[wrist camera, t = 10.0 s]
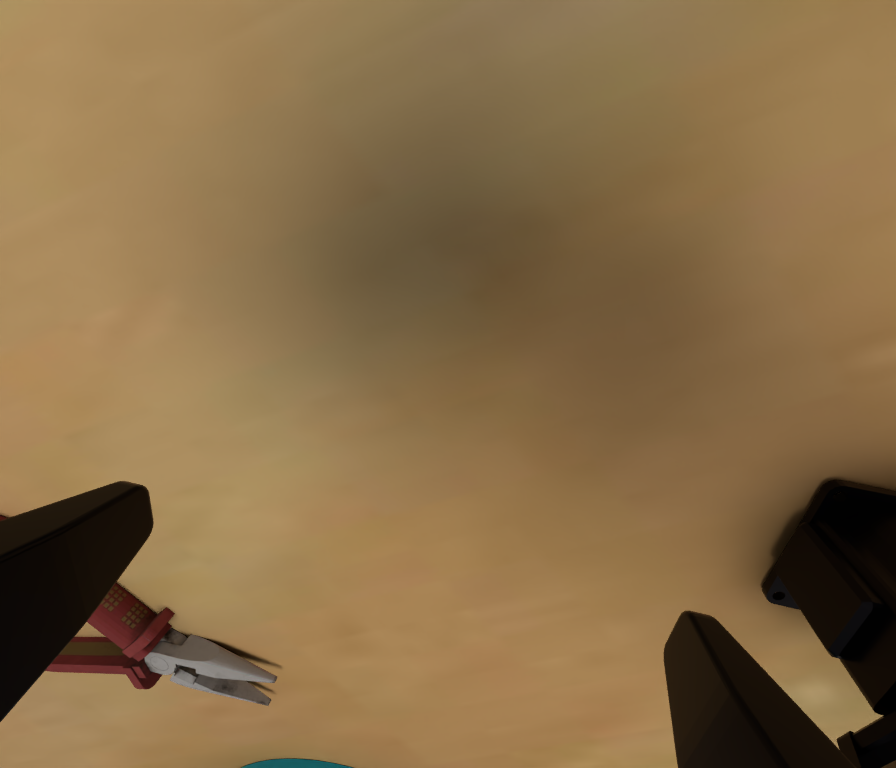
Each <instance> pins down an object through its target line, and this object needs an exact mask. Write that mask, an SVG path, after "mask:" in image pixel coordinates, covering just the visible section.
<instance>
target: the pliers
mask: <svg viewBox="0 0 896 768" xmlns="http://www.w3.org/2000/svg"><path fill="white" fill-rule="evenodd" d="M4 519H7V518H6V517H3V516H0V521H1V520H4ZM174 614H175V613H173V612H172V611H171V610H170V609H168V608H165V609H164V610H163V611H161V612H160V613H159V614H158V615H156V614H155V613H154V612H152V611H151V610H150V609H149V608H147V607H146V606H145V605H144V604H142V603H141V602H140V601H138V600H137V599H136V598H135V597H133V596H132V595H131V594H130V593H128V592H127V591H126V590H125V589H123V588H122V587H121V586H120V585H118V584H117V583H115V584H114V586H113V587H112V589H111V590H110V591H109V593H108V594H107V595H106V597H105V598H104V600H103V601H102V602H101V604H100V605H99V606H98V608H97V609H96V610H95V612H94V613H93V614H92V615H91V617H90V618H89V619H88V621H87V622H88V623H89V624H90V625H92V626H93V627H94V628H96V629H97V630H98V631H99V632H101V633H102V634H103V635H105V636H106V637H73V639H72V640H71V641H70V642H69V643H68V644H67V646H66V647H65V648H64V649H63V650H62V651H61V653H60V654H59V655H58V656H57V657H56V658H55V659H54V661H53V662H52V663H51V664H50V665H49V666H48V668H47V669H46V670H45V671H52V672H74V673H105V674H126V675H127V676H128V678H129V679H130V681H131V682H132V684H133V685H134V687H135V688H137V689H150V688H151V687H153V686H154V685H155V684H156V682H157V681H158V680H159V679H160V677H161V676H162V675H170V674H172V673H173V675H172V677H171V679H170V681H172V682H175V683H177V684H180V685H183V686H186V687H189V688H193V689H196V690H201V691H205V692H210V693H214V694H218V695H223V696H227V697H232V698H236V699H240V700H245V701H249V702H254V703H258V704H263V705H267V706H268V705H269V703H270V701H271V699H270V698H269V697H267V696H266V695H265V694H263V693H262V692H261V691H259V690H258V689H256V688H255V687H254V686H252V685H251V684H250V683H248V682H247V681H255V682H267V683H275V681H276V679H277V676H275V675H273V674H271V673H269V672H268V671H266V670H264V669H262V668H260V667H258V666H256V665H254V664H252V663H251V662H249V661H247V660H245V659H243V658H241V657H239V656H237V655H236V654H234V653H232V652H230V651H228V650H226V649H224V648H222V647H221V646H219V645H217V644H215V643H213V642H211V641H209V640H206V639H204V638H201V637H199V636H196V635H192V634H191V635H190V636H189V637H188V638H187V637H186V636H184V635H183V634H181V633H179V632H177V631H175V630H174V629H172V628H171V625H170V624H169V623H167V622H168V621H169V620H170V619H171V618H172V616H173V615H174Z"/></svg>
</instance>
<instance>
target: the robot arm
mask: <svg viewBox="0 0 896 768" xmlns="http://www.w3.org/2000/svg"><path fill="white" fill-rule="evenodd" d="M839 491H841V492H840V493H839V494H838V495H835V496H833V495H834V494H835V493H837V492H839ZM152 528H153V515H152V509H151V503H150V496H149V492H148V490H147V488H146V487H145V486H143V485H140V484H135V483H131V482H126V481H119V482H115V483H112V484H109V485H106V486H103V487H100V488H97V489H94V490H91V491H88V492H85V493H82V494H79V495H76V496H73V497H70V498H67V499H64V500H61V501H58V502H55V503H52V504H49V505H46V506H43V507H40V508H37V509H34V510H31V511H28V512H25V513H22V514H19V515H16V516H13V517H10V518H7V519H4V520H1V521H0V722H1V721H2V720H3V719H4V717H5V716H6V715H7V714H8V713H9V712H10V710H11V709H12V708H13V707H14V706H15V705H16V703H17V702H18V701H19V700H20V699H21V698H22V697H23V695H24V694H25V693H26V692H27V691H28V690H29V688H30V687H31V686H32V685H33V684H34V683H35V681H36V680H37V679H38V678H39V677H40V676H41V675H42V673H43V672H44V671H45V670H46V669H47V668H48V666H49V665H50V664H51V663H52V662H53V661H54V659H55V658H56V657H57V656H58V655H59V654H60V653H61V651H62V650H63V649H64V648H65V647H66V646H67V644H68V643H69V642H70V641H71V640H72V639H73V637H74V636H75V635H76V634H77V633H78V632H79V630H80V629H81V628H82V627H83V626H84V624H85V623H86V622H87V621H88V619H89V618H90V617H91V615H92V614H93V613H94V612H95V610H96V609H97V608H98V606H99V605H100V604H101V602H102V601H103V600H104V598H105V597H106V595H107V594H108V593H109V591H110V590H111V589H112V587H113V586H114V584H115V583H116V582H117V580H118V579H119V577H120V576H121V575H122V573H123V572H124V571H125V569H126V568H127V566H128V565H129V564H130V562H131V561H132V560H133V558H134V557H135V555H136V554H137V553H138V551H139V550H140V549H141V547H142V546H143V544H144V543H145V542H146V540H147V539H148V537H149V536H150V534H151V532H152ZM762 591H763V593H764V595H765V597H766V599H767V600H768V601H769V602H771V603H773V604H777V605H782V606H786V607H790V608H795V609H799V610H801V612H802V613H803V615H804V616H805V618H806V619H807V621H808V622H809V624H810V625H811V627H812V629H813V630H814V632H815V633H816V635H817V636H818V638H819V639H820V641H821V642H822V644H823V645H824V647H825V648H826V650H827V652H828V653H829V654H830V655H831V656H832V657H835V658H839V659H840V661H841V662H842V664H843V665H844V667H845V668H846V670H847V671H848V673H849V674H850V676H851V677H852V679H853V680H854V682H855V683H856V685H857V686H858V688H859V689H860V691H861V692H862V694H863V695H864V697H865V698H866V700H867V701H868V703H869V704H870V706H871V707H872V709H873V710H874V712H875V713H878V714H880V715H884V716H882V717H881V718H879V719H877V720H876V721H874V722H872V723H870V724H869V725H867V726H865V727H864V728H862V729H860V730H858V731H857V732H855V733H854V732H852V731H849V732H847V733H846V734H844V735H842V736H841V737H839V738H837V743H838V746H839V749H840V750H839V749H838V748H837V747H836V746H835V745H834V743H833V742H832V741H831V740H830V739H829V738H828V737H827V736H826V735H825V734H824V733H823V732H822V731H821V730H820V729H819V728H818V727H817V725H816V724H815V723H814V722H813V721H812V720H811V719H810V718H809V717H808V716H807V715H806V714H805V713H804V712H803V711H802V710H801V708H800V707H799V706H798V705H797V704H796V703H795V702H794V701H793V700H792V699H791V698H790V697H789V696H788V695H787V694H786V693H785V692H784V690H783V689H782V688H781V687H780V686H779V685H778V684H777V683H776V682H775V681H774V680H773V679H772V678H771V677H770V676H769V675H768V674H767V672H766V671H765V670H764V669H763V668H762V667H761V666H760V665H759V664H758V663H757V662H756V661H755V660H754V659H753V658H752V657H751V655H750V654H749V653H748V652H747V651H746V650H745V649H744V648H743V647H742V646H741V645H740V644H739V643H738V642H737V641H736V640H735V639H734V637H733V636H732V635H731V634H730V633H729V632H728V631H727V630H726V629H725V628H724V627H723V626H722V625H721V624H720V623H719V622H718V621H717V620H716V619H715V618H714V617H712V616H710V615H706V614H702V613H697V612H693V611H684V612H683V613H681V615H680V616H679V618H678V620H677V622H676V624H675V626H674V628H673V630H672V632H671V634H670V636H669V638H668V640H667V642H666V645H665V648H664V666H665V673H666V681H667V689H668V696H669V704H670V712H671V719H672V727H673V735H674V743H675V750H676V757H677V764H678V768H896V491H891V490H886V489H881V488H876V487H871V486H866V485H861V484H857V483H852V482H847V481H842V480H833V481H829V482H827V483H826V484H824V485H823V486H822V487H821V489H820V491H819V492H818V494H817V496H816V497H815V499H814V501H813V502H812V504H811V506H810V507H809V509H808V511H807V513H806V514H805V516H804V518H803V519H802V521H801V523H800V524H799V526H798V528H797V529H796V531H795V533H794V534H793V536H792V538H791V540H790V541H789V543H788V545H787V546H786V548H785V550H784V551H783V553H782V555H781V556H780V558H779V560H778V561H777V563H776V565H775V567H774V568H773V570H772V572H771V573H770V575H769V577H768V578H767V580H766V582H765V583H764V585H763V588H762ZM775 592H776V593H775Z"/></svg>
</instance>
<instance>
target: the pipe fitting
mask: <svg viewBox="0 0 896 768" xmlns="http://www.w3.org/2000/svg"><path fill="white" fill-rule="evenodd" d="M242 768H352V767H348V766H343V765H339V764H335V763H329V762H323V761H317V760H306V759H274V760H266V761H261V762H256V763H253V764H249V765H246V766H244V767H242Z"/></svg>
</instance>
